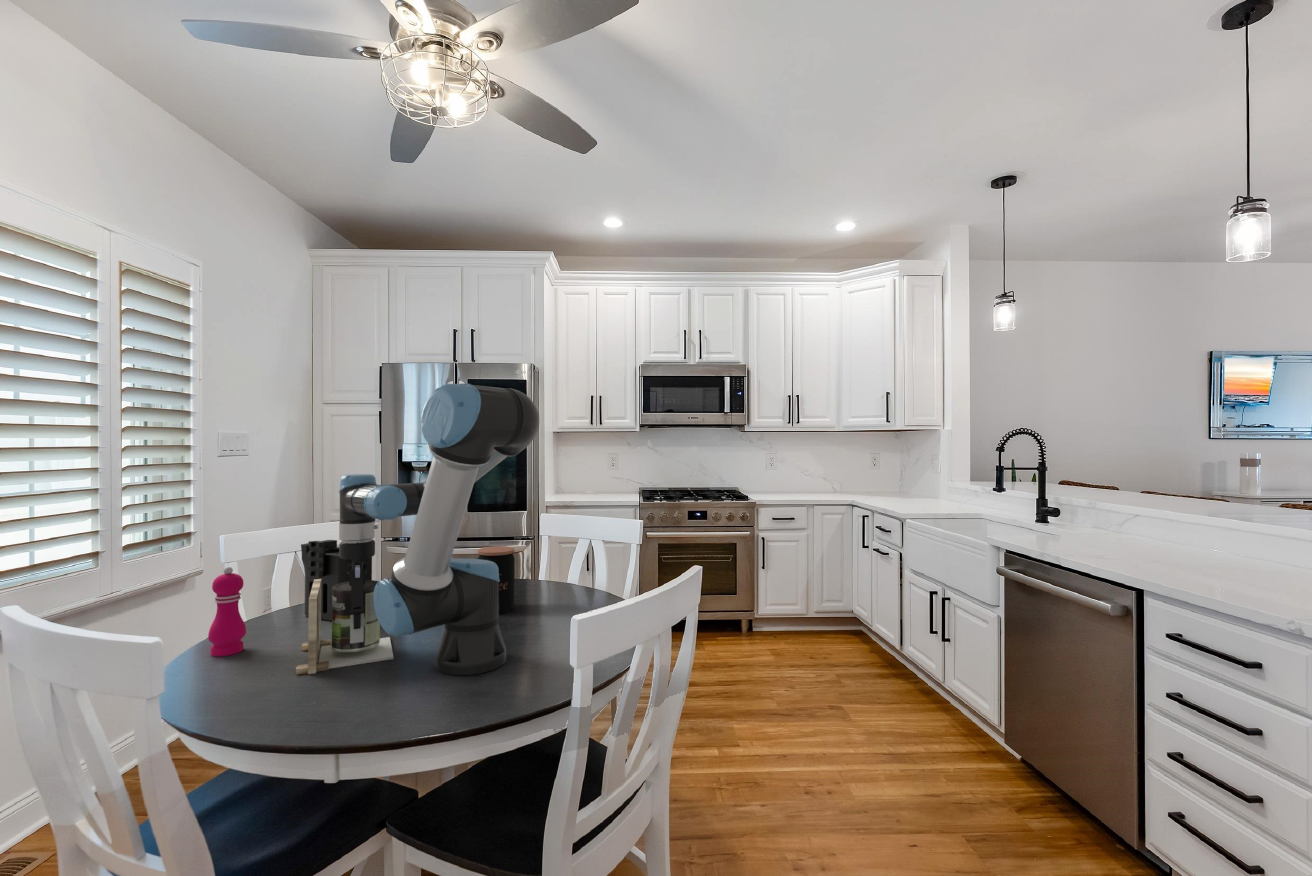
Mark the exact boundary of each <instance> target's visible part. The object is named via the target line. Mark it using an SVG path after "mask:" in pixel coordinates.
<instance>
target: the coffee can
mask: <svg viewBox="0 0 1312 876" xmlns="http://www.w3.org/2000/svg"><path fill="white" fill-rule="evenodd" d="M379 581H380V580H375V579H372V580H366V582H365V584H364V585H363V608H364V639H363V642H359V643H351V644H350V615H347V612H350V610H351V586H350V585H349V581H348V582H343V583H339V584H336V585H334V586H333V587H332V591H333V597H332V621H331V645H332V647H331V649H332V650H333V651H336V652H358V651H363V650H367V649H370V648H373V647H375V646H377V645H378V644H379V643H380V638H381V628H380V627H381V625H380V623H379V621H378V619H377V616H376V612H375V608H374V601H373V595H374V589H375V586H376V584H377V583H378V582H379ZM355 608H361V607H355Z"/></svg>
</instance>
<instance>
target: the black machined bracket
mask: <svg viewBox="0 0 1312 876" xmlns="http://www.w3.org/2000/svg"><path fill="white" fill-rule="evenodd" d="M300 547H301V548H300V549H301V562H302V564H303V570H304V613H303V614H304V615H305V617H308V618H309V596H310V593H311V589H312V585H313V582H314V580H316V579H321V620H323V621H330V622H332V597H333V591H332V587H333V586H334V585H336V584H339V583H343V582H348V581H349V575H348V565H351V559H348V560H346V559H341V558H340V557H339V546H338V540H337V539H325V540H309V541H308V543H303V544H302V543H301V544H300ZM365 563H366V565H367V572H366V580H373V556H372V557H370V558H364V559H363V564H365Z"/></svg>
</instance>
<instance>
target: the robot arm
mask: <svg viewBox="0 0 1312 876" xmlns="http://www.w3.org/2000/svg"><path fill="white" fill-rule="evenodd" d="M421 412H422V413H421V417H420V418H421V419H420V420H421V421H420V422H421V423H422V425H421V433H422V435H423V438H424V440H425V442H427V443H428V444H427V448H428V450H429V452H430V453H431V455H433V457H432V460H431V464H430V467H429V471H428V475H427V478H426V480H425V481H424V482H412V483H411V482H410V483H395V484H394V483H393V484H377V480H376V477H375V475H374V474H368V473H367V474H362V473H361V474H359V473H358V474H345V475H342V476H341V478H340V482H339V490H338V493H339V523H338V524H339V525H338V540H340V543H339V544H338V545H339V546H338V547H339V557H340V558H341V559H346V560H348V559H351V565H348V575H349V585H350V586H351V610H350V612H347V615H350V644H351V643H359V642H363V639H364V608H363V585H364V584H365V582H366V572H367V565H366V563H365V564H363V559H364V558H370V557H372V558H373V557H374V556H375V554H376V541H375V540H374V538H375V537H376V531H375V530H378V529H379V525H378V524H376V520H379V521H385V520H387V521H391V520H395V519H397V518H399V517H408V516H409V517H410V516H416V518H415V520H414V523H413V529H412V531H411V535H410V539H409V541H408V546H407V550H406V553H405V555H404V557H403V558H400V559H399V560H398V561H396V562H395V564H394V566H393V568H392V572H391V575H390V576H391V577H389V578H383V579H381V580H378V581H379V582H378V583H377V584H376V586H375V589H374V595H373V601H374V608H375V612H376V616H377V619H378V621H379V623H380V627H381V628H382V630H384V633H386V634H388V635H389V636H392V637H402V636H407V635H408V636H409V635H413V634H416V633H419V632H422V631H427V630H430V629H433V628H437V627H440V626H444V632H443V634H442V638H441V641H440V644H439V646H438V649H437V652H436V656H435V668H436V670H437V671H438V672H440V673H443V674H446V675H451V676H469V675H470V676H471V675H472V676H473V675H479V674H484V673H487V672H490V671H493V670H496V669H498V668H500V667H501V666H503V665H504V664H505V663H506V662H507V647H506V645H505V641H504V638H503V636H502V633H501V629H500V625H499V621H500V619H499V618H500V617H499V616H500V614H499V582H500V580H499V569H498V566H497V564H496V563H494V562H492V561H488V560H481V559H478V558H466V557H465V558H463V557H462V558H458V557H456V558H452V556H453V552H454V550H455V547H456V543H457V540H458V537H459V533H460V530H461V527H462V523H463V520H464V517H465V513H466V510H467V507H468V504H469V502H470V501H469V500H470V498H471V494H472V491H473V488H474V484H475V483H476V482H477V481H478V480H480V479H481V478H482V477H484V476H485V475H486V474H487V473H488V472H490V471H491V470H492V469H493V468H495V467H496V466H498V464H500V463H501V462H502V461H503V460H505V459H506V458H507V457H515V456H518V455H519V454H520V453H522V451H523V450H525V449H526V448H527V447H528V446H529V445H530V444H531V443H532V442H533V441H534V439H535V438H536V436H537V433H538V431H539V428H540V415H539V411H538V408H537V406H536V404H535V403H534V401H533V400H532V399H531V397H529V396H528V395H527V394H525V393H524V392H522V391H521V390H517V389H514V388H510V387H498V386H497V387H495V386H485V385H474V384H471V383H465V382H463V383H446V384H442V385H441V386H440V387H437V388H435V390H434V391H432V392H431V393H430V394H429V396H428V397H427V399H426V401H425V403H424V405H423V409H422V411H421ZM355 607H361V608H355Z"/></svg>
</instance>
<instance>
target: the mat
mask: <svg viewBox="0 0 1312 876" xmlns="http://www.w3.org/2000/svg"><path fill="white" fill-rule="evenodd" d="M331 647H332V644H331V645H327V646H321V649H320V651H319V657H318V662H324V661H329V665H328V670H330V669H337V668H342V667H343V668H344V667H349V666H356V665H357V666H358V665H363V664H369V663H374V662H375V663H376V662H381V661H382V662H383V661H389V660H394V653H393V647H392V643H391V637H390V636H386V637H380V643H379V644H378V645H377V646H375V647H373V648H370V649H367V650H363V651H358V652H336V651H333V650H332V649H331Z"/></svg>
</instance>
